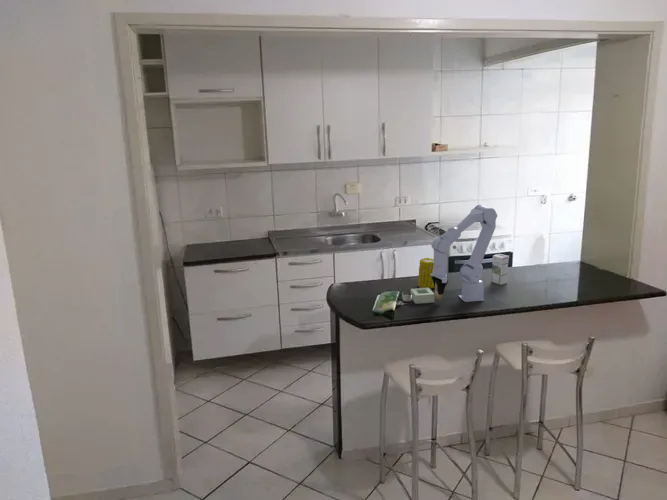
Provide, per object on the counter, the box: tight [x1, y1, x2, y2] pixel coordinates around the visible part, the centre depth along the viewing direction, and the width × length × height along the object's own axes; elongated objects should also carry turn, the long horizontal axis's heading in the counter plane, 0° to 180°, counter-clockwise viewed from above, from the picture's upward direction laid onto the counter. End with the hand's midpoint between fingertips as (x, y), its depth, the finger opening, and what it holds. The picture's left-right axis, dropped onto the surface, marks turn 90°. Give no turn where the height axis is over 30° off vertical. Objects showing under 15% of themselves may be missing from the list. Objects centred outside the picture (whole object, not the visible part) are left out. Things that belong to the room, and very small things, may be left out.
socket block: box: [409, 287, 435, 305], centre depth 248 cm, size 9×9×4 cm
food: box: [417, 257, 435, 290], centre depth 264 cm, size 15×12×10 cm
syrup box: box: [490, 253, 510, 286], centre depth 267 cm, size 6×6×14 cm
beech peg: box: [434, 282, 444, 300], centre depth 242 cm, size 4×4×8 cm
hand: (439, 292), depth 242 cm, fingers closed on beech peg, 4 cm apart
